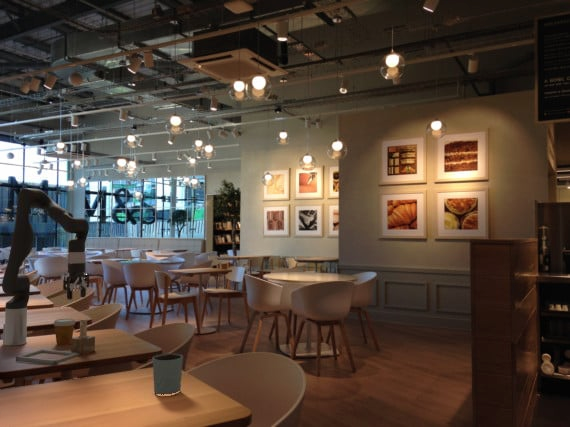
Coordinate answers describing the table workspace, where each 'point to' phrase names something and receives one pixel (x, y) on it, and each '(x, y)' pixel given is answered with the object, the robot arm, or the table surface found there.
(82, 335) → the dowel
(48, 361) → the tray
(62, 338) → the disposable coffee cup
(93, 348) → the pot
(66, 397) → the table surface
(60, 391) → the table surface
